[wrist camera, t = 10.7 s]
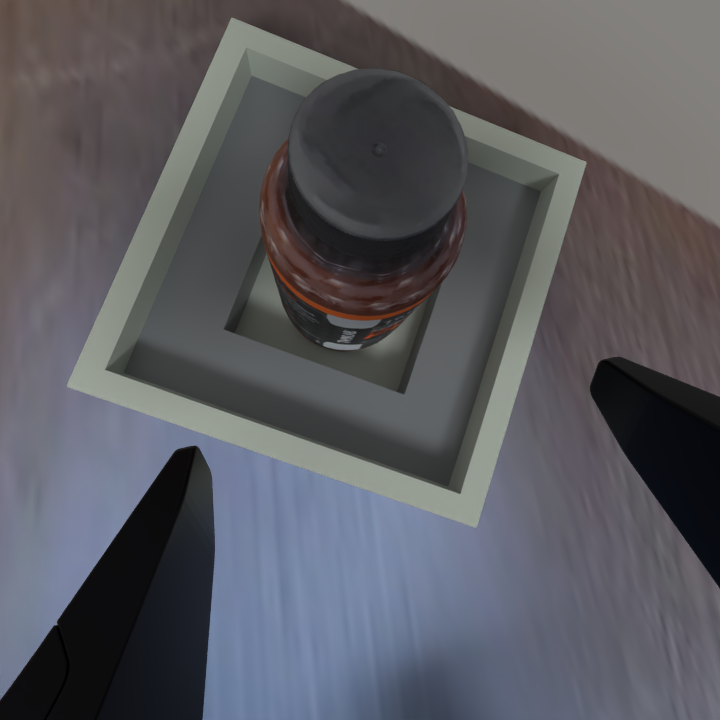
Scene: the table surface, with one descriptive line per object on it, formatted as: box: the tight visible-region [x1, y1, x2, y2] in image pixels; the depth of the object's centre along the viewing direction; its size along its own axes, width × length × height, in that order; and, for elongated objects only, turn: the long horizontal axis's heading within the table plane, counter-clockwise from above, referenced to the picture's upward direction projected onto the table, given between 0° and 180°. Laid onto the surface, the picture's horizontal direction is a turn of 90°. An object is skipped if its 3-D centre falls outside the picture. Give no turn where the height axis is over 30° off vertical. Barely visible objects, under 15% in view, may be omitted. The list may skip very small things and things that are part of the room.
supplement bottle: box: [259, 68, 468, 351], centre depth 15 cm, size 6×6×11 cm
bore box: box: [66, 18, 587, 528], centre depth 19 cm, size 16×16×4 cm
